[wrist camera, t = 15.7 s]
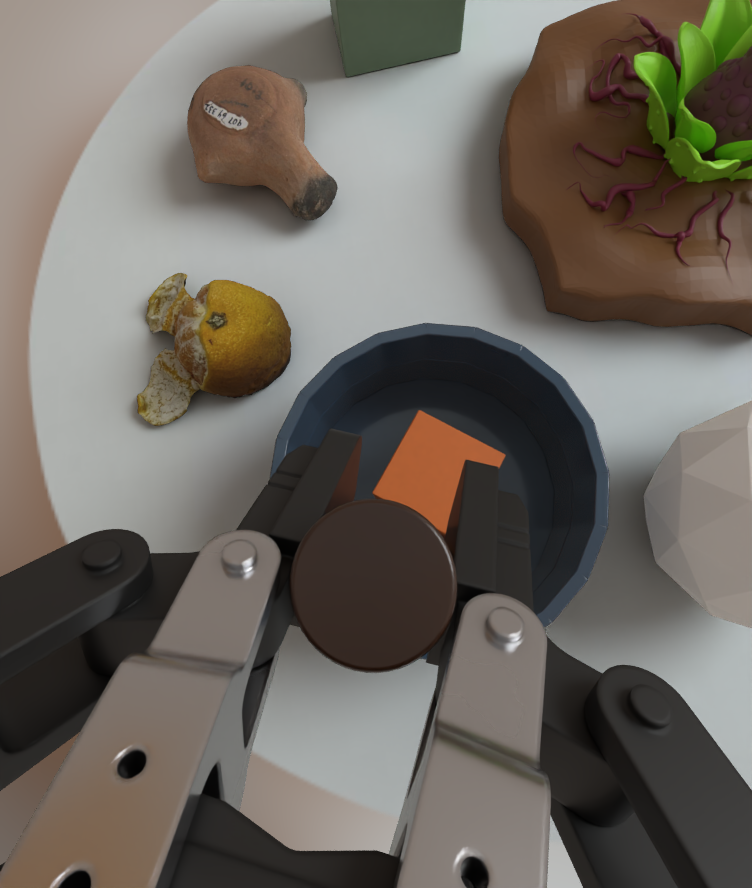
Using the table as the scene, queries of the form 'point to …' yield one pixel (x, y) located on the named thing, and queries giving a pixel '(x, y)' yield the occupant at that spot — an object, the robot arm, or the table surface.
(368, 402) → the bowl
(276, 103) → the oil lamp
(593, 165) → the plant
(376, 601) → the brown cylindrical peg
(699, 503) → the perfume bottle
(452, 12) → the stand
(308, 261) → the table surface
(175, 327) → the fruit
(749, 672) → the table surface
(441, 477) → the block
